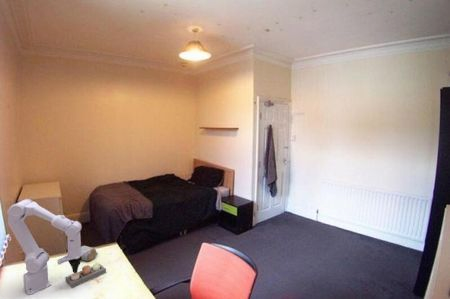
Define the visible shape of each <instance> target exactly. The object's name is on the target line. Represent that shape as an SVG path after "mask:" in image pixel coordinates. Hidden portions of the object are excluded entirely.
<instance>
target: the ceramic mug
mask: <svg viewBox="0 0 450 299" xmlns="http://www.w3.org/2000/svg"><path fill="white" fill-rule="evenodd" d="M87 249H90V254H86V255H83V256H81V258H82V261H88V262H89V261H93V260H94V259H95V258H96V256H97V255H98V253H99V252H98V251H97V249H95V248H94V247H92V246H91V247H90V246H87V245H81V251H82V250H87Z"/></svg>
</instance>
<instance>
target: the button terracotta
mask: <svg viewBox="0 0 450 299" xmlns="http://www.w3.org/2000/svg"><path fill="white" fill-rule="evenodd" d="M90 267H91V266H90V265H87V264H85V265H84V266H82V268H81V271H82V275H83V276H86V275H88V274H90Z"/></svg>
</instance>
